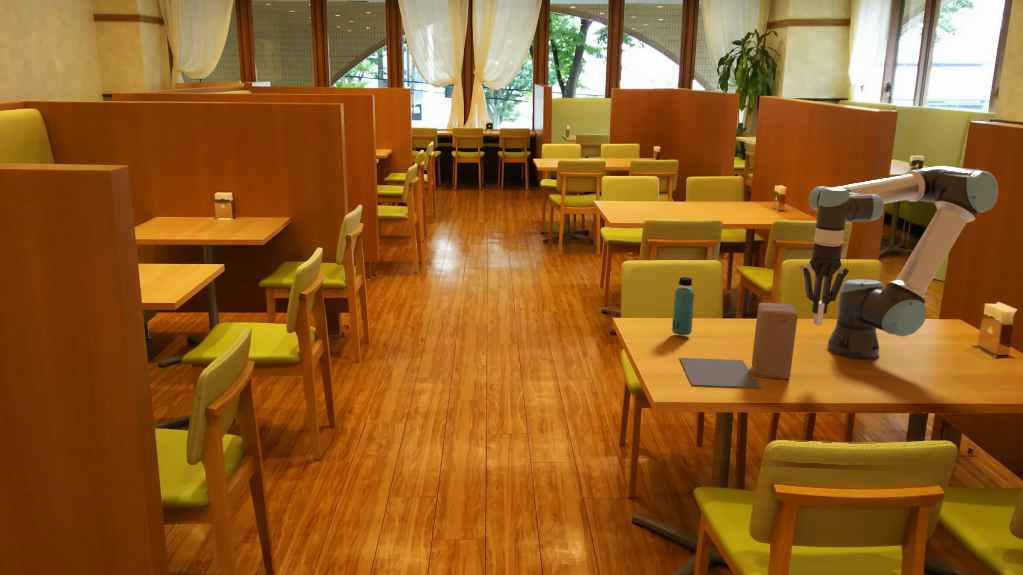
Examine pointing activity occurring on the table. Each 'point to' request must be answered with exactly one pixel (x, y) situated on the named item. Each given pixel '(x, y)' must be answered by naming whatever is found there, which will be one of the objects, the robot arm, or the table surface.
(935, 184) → the robot arm
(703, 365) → the mat
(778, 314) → the wooden block
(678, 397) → the table surface
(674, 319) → the beverage bottle
